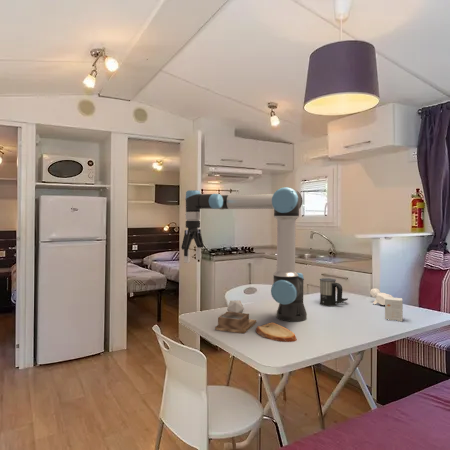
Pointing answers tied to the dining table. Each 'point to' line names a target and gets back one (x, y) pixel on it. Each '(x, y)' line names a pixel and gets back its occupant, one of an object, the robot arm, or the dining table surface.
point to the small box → (393, 308)
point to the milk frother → (330, 292)
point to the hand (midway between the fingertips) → (192, 261)
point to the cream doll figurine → (379, 296)
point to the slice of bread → (276, 332)
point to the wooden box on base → (234, 322)
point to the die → (235, 306)
